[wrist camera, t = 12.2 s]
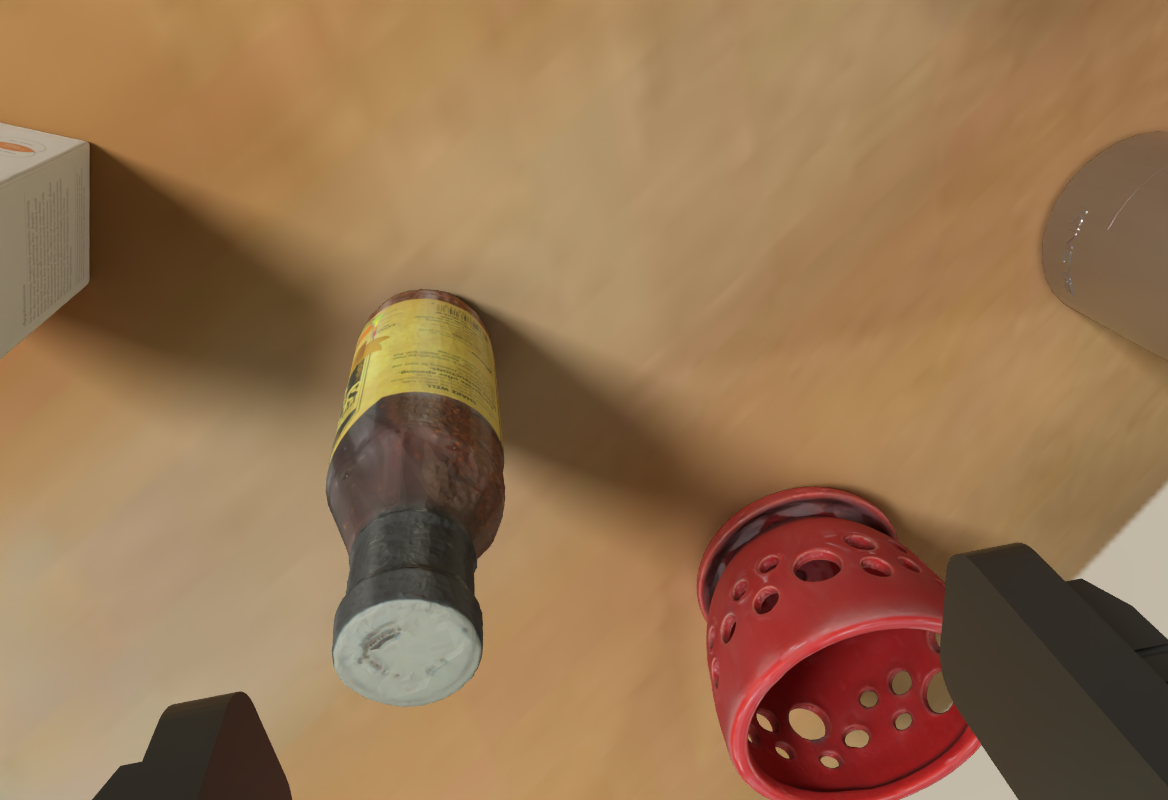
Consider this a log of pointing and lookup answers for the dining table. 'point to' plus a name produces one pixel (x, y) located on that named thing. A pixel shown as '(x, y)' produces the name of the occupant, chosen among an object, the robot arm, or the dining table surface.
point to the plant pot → (825, 648)
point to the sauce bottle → (415, 498)
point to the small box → (41, 227)
